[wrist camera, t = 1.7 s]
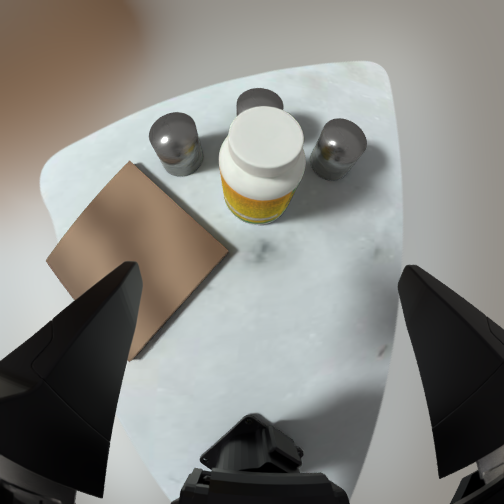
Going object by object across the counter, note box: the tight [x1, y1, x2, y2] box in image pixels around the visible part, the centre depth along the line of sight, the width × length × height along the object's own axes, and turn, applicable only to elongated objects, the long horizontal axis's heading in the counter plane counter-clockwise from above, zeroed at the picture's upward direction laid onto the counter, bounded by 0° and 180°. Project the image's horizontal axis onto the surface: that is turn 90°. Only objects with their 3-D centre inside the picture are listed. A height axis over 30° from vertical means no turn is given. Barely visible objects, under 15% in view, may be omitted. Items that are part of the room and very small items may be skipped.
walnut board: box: [46, 161, 229, 362], centre depth 22 cm, size 12×12×1 cm
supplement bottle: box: [219, 106, 306, 225], centre depth 19 cm, size 5×5×10 cm
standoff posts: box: [149, 88, 367, 181], centre depth 22 cm, size 6×17×4 cm, turn 89°
